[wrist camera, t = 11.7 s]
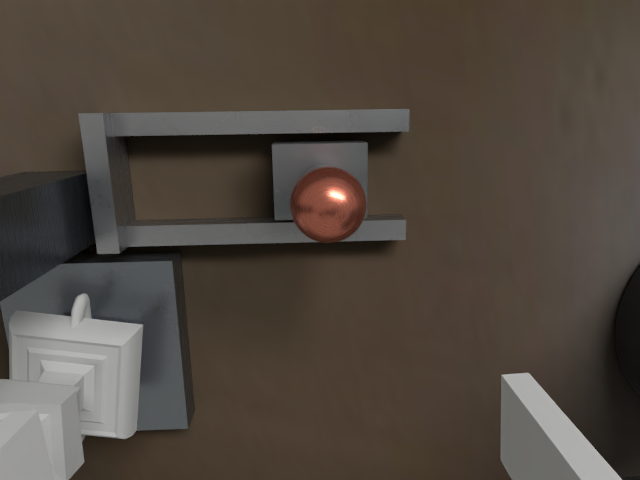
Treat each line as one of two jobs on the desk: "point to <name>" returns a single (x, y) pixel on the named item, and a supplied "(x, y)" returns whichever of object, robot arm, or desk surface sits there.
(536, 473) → the robot arm
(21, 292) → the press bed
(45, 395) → the stamp
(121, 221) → the lever guide
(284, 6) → the desk surface
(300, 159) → the lever
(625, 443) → the desk surface
